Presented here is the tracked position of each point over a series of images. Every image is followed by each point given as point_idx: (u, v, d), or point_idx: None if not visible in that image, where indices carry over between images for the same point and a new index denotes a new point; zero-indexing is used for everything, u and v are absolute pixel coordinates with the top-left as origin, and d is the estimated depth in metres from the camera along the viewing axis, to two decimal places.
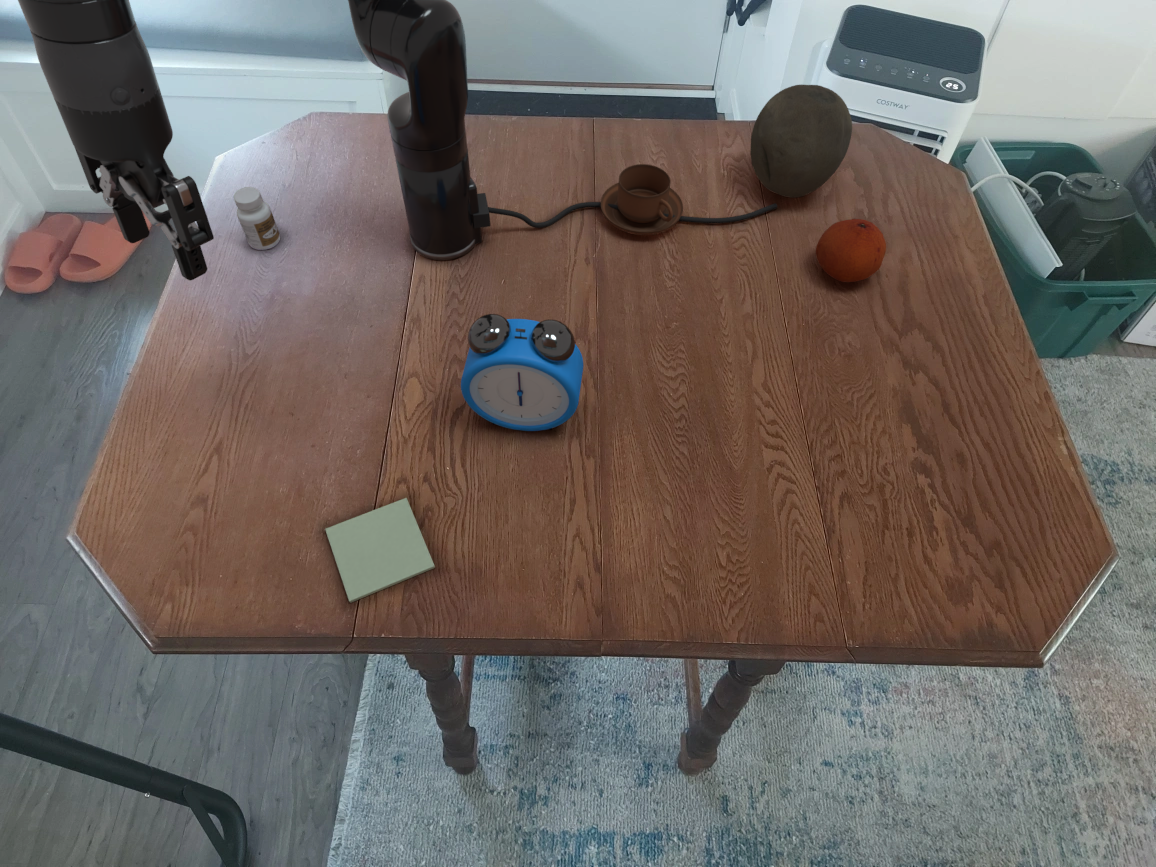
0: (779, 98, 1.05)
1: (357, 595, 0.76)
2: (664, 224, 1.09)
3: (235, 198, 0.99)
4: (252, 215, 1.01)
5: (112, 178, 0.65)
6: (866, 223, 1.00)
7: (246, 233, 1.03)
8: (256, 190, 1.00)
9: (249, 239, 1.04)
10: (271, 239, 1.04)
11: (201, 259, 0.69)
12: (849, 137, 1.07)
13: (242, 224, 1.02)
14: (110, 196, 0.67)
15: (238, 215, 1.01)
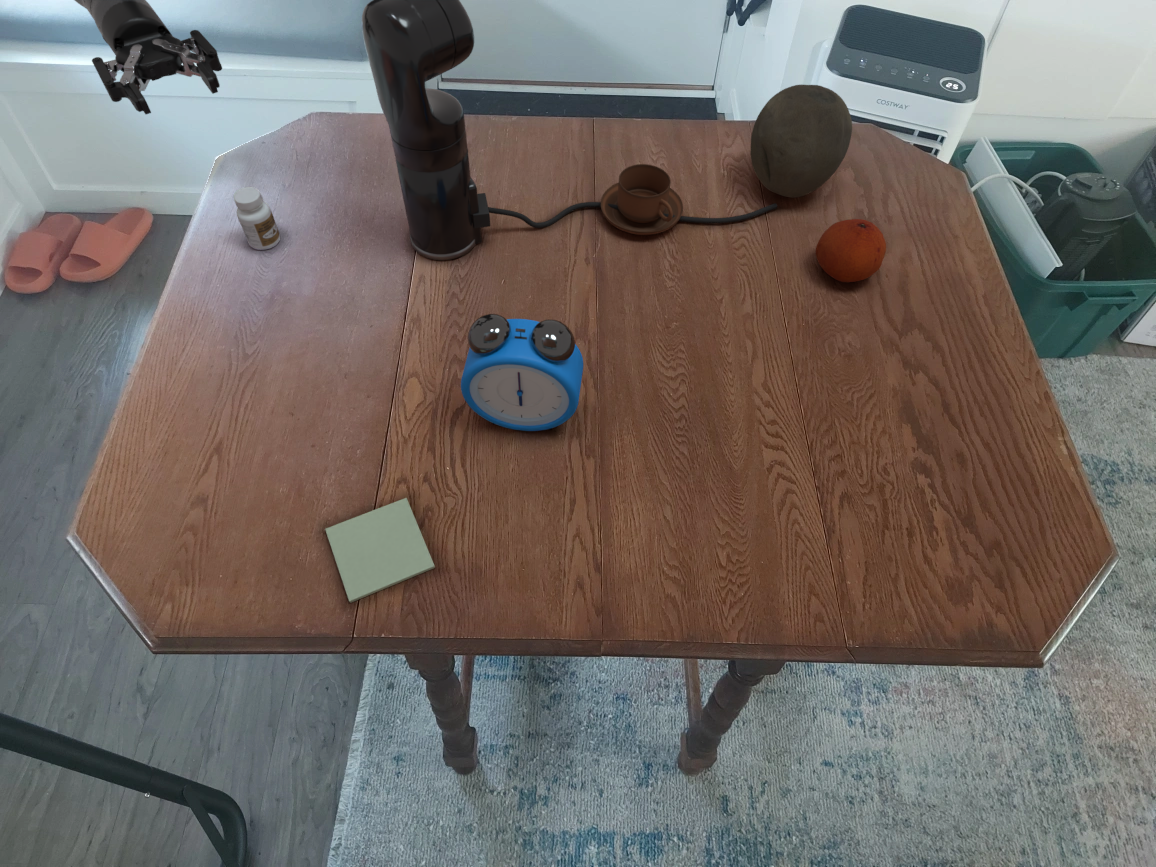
0: (779, 98, 1.05)
1: (357, 595, 0.76)
2: (664, 224, 1.09)
3: (235, 198, 0.99)
4: (252, 215, 1.01)
5: None
6: (866, 223, 1.00)
7: (246, 233, 1.03)
8: (256, 190, 1.00)
9: (249, 239, 1.04)
10: (271, 239, 1.04)
11: (129, 97, 0.93)
12: (849, 137, 1.07)
13: (242, 224, 1.02)
14: (189, 75, 0.99)
15: (238, 215, 1.01)
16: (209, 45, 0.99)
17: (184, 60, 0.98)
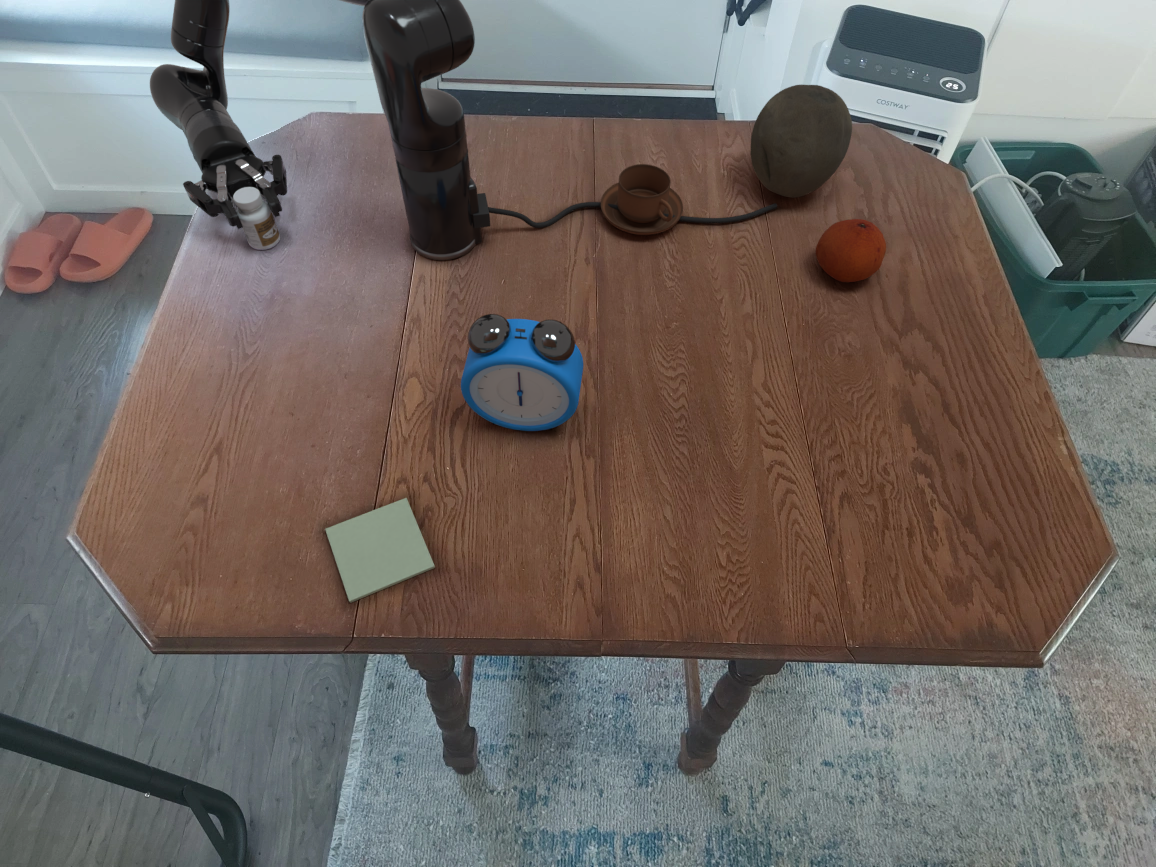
0: (779, 98, 1.05)
1: (357, 595, 0.76)
2: (664, 224, 1.09)
3: (235, 198, 0.99)
4: (252, 215, 1.01)
5: None
6: (866, 223, 1.00)
7: (246, 233, 1.03)
8: (256, 190, 1.00)
9: (249, 239, 1.04)
10: (271, 239, 1.04)
11: (224, 214, 0.99)
12: (849, 137, 1.07)
13: (242, 224, 1.02)
14: None
15: (238, 215, 1.01)
16: (280, 171, 1.04)
17: (254, 183, 1.03)
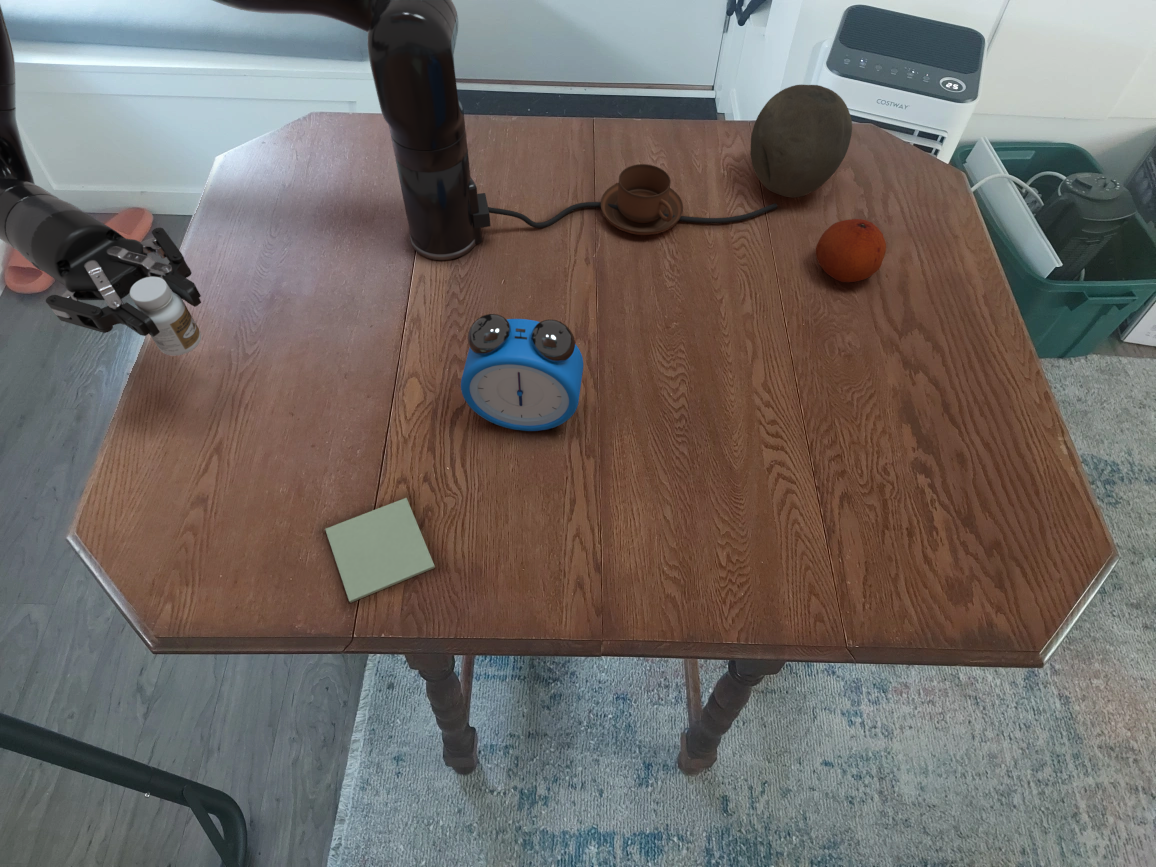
0: (779, 98, 1.05)
1: (357, 595, 0.76)
2: (664, 224, 1.09)
3: (135, 297, 0.73)
4: (165, 313, 0.74)
5: None
6: (866, 223, 1.00)
7: (159, 339, 0.76)
8: (158, 279, 0.74)
9: (164, 346, 0.77)
10: (194, 337, 0.78)
11: (128, 322, 0.72)
12: (849, 137, 1.07)
13: None
14: None
15: None
16: (174, 247, 0.77)
17: (146, 271, 0.76)
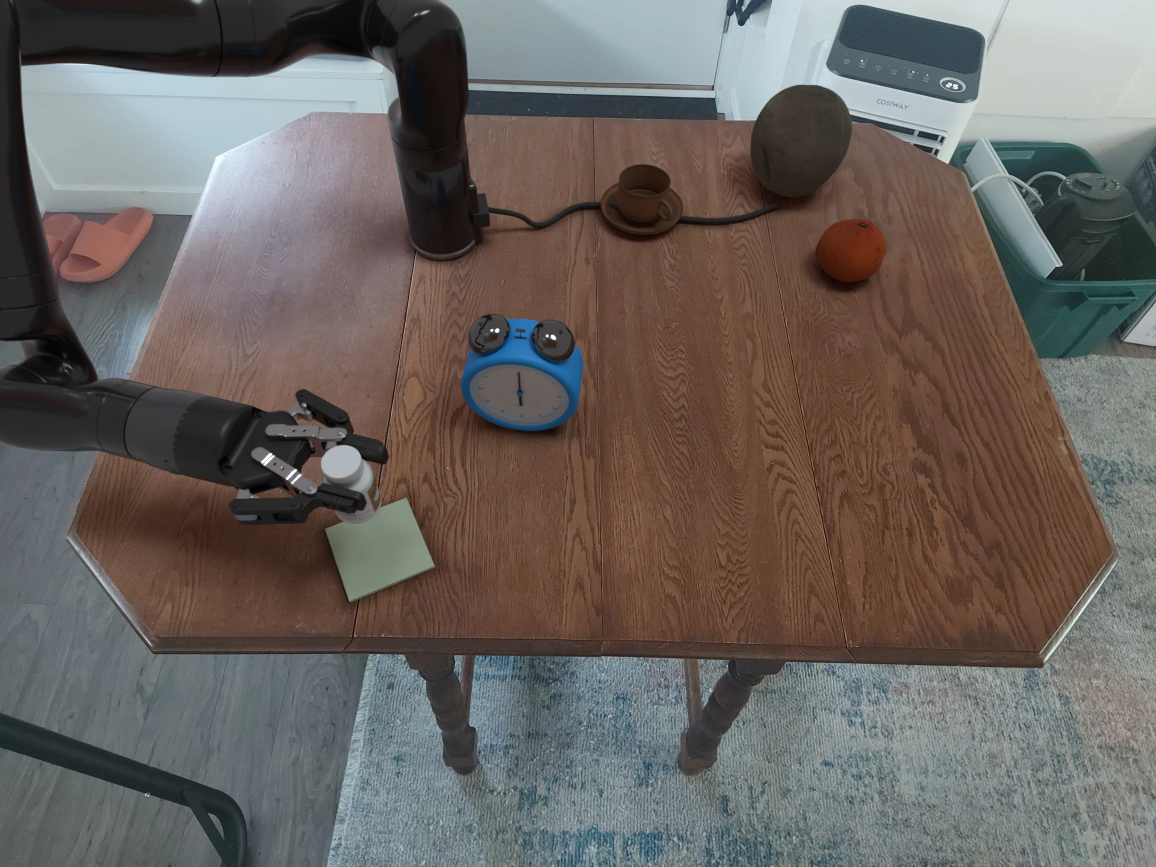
0: (779, 98, 1.05)
1: (357, 595, 0.76)
2: (664, 224, 1.09)
3: (333, 475, 0.64)
4: (361, 481, 0.67)
5: None
6: (866, 223, 1.00)
7: None
8: (344, 447, 0.66)
9: (356, 515, 0.69)
10: (379, 496, 0.71)
11: (335, 504, 0.64)
12: (849, 137, 1.07)
13: None
14: (321, 456, 0.69)
15: None
16: (333, 407, 0.69)
17: (317, 442, 0.68)
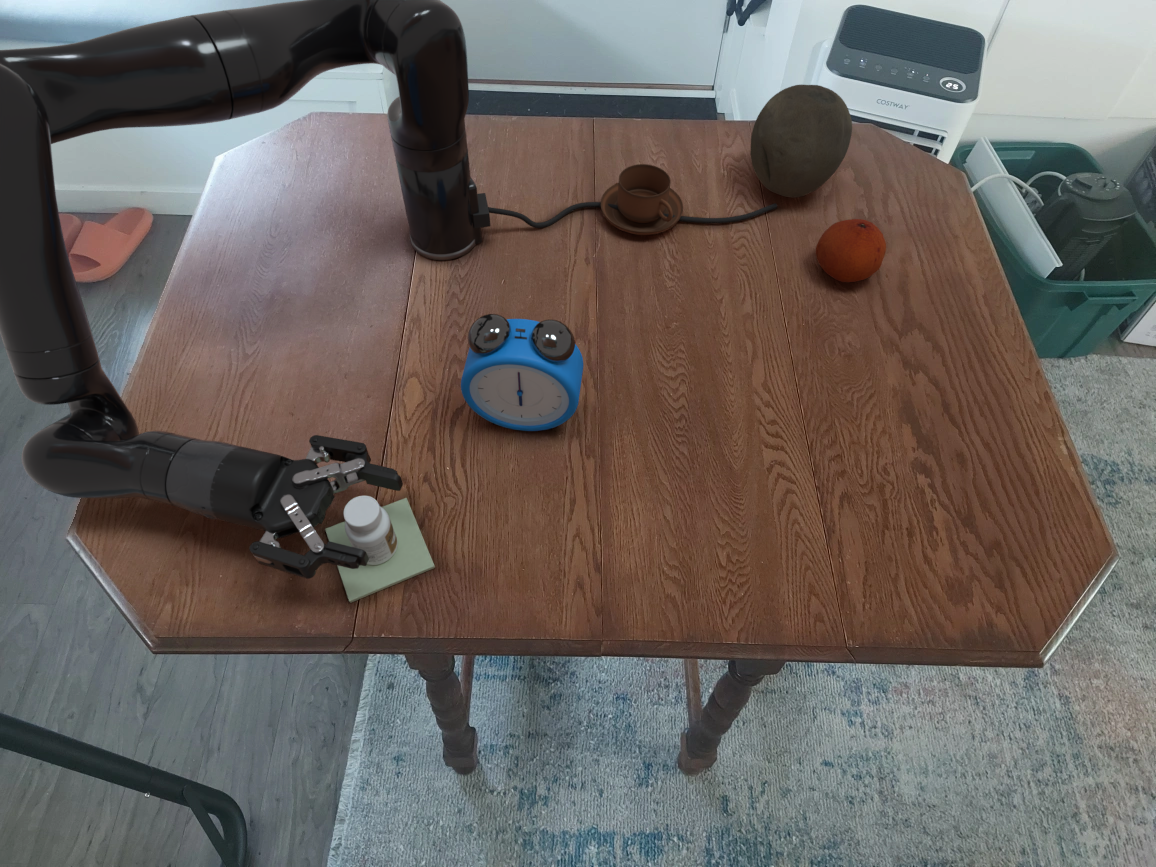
0: (779, 98, 1.05)
1: (357, 595, 0.76)
2: (664, 224, 1.09)
3: (355, 523, 0.72)
4: (380, 528, 0.74)
5: None
6: (866, 223, 1.00)
7: (372, 553, 0.75)
8: (364, 497, 0.73)
9: (375, 558, 0.76)
10: (396, 539, 0.78)
11: (339, 561, 0.70)
12: (849, 137, 1.07)
13: (368, 547, 0.74)
14: (344, 489, 0.77)
15: (361, 540, 0.73)
16: (348, 442, 0.77)
17: (341, 477, 0.75)
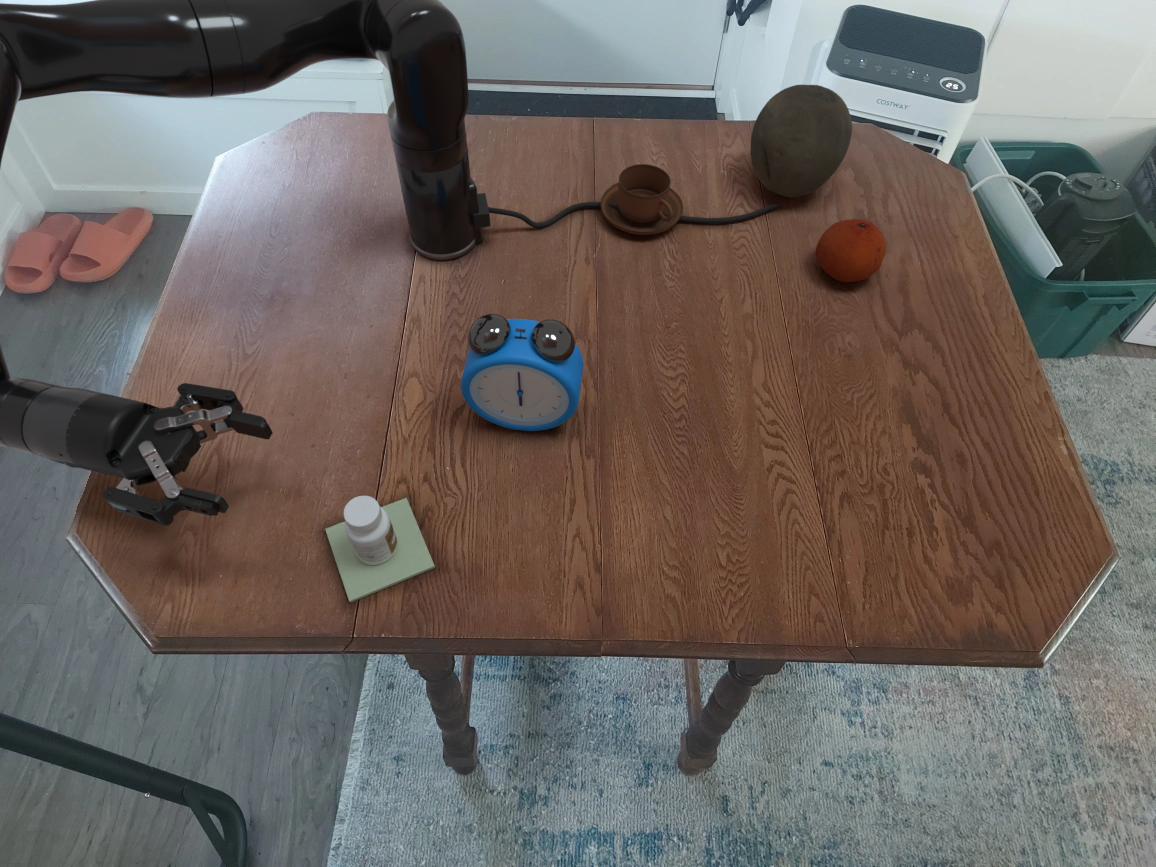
0: (779, 98, 1.05)
1: (357, 595, 0.76)
2: (664, 224, 1.09)
3: (355, 524, 0.72)
4: (380, 528, 0.74)
5: None
6: (866, 223, 1.00)
7: (372, 553, 0.75)
8: (364, 497, 0.73)
9: (375, 558, 0.76)
10: (396, 539, 0.78)
11: (196, 507, 0.68)
12: (849, 137, 1.07)
13: (368, 547, 0.74)
14: (213, 438, 0.75)
15: (361, 540, 0.73)
16: (217, 390, 0.75)
17: (206, 424, 0.73)
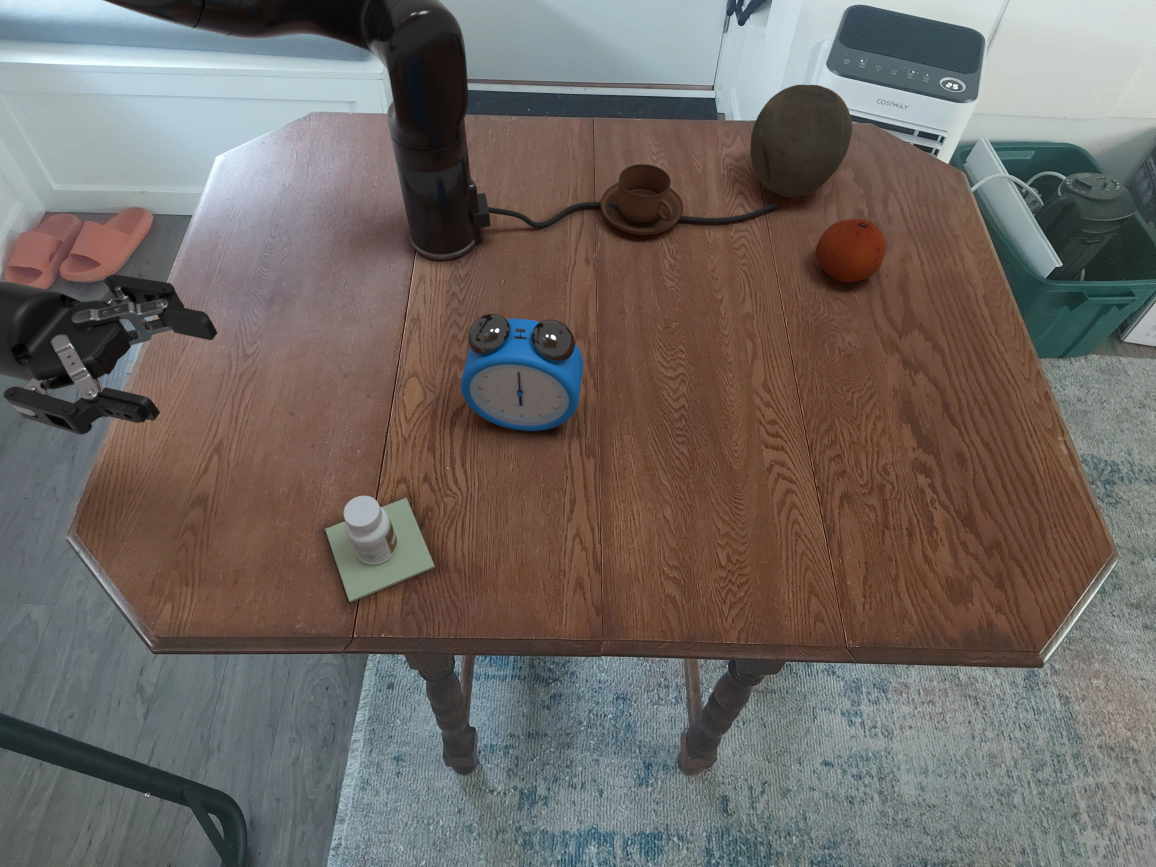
0: (779, 98, 1.05)
1: (357, 595, 0.76)
2: (664, 224, 1.09)
3: (355, 524, 0.72)
4: (380, 528, 0.74)
5: None
6: (866, 223, 1.00)
7: (372, 554, 0.75)
8: (364, 497, 0.73)
9: (375, 558, 0.76)
10: (396, 539, 0.78)
11: (117, 411, 0.56)
12: (849, 137, 1.07)
13: (368, 547, 0.74)
14: (147, 339, 0.63)
15: (361, 540, 0.73)
16: (152, 282, 0.63)
17: (137, 320, 0.61)
